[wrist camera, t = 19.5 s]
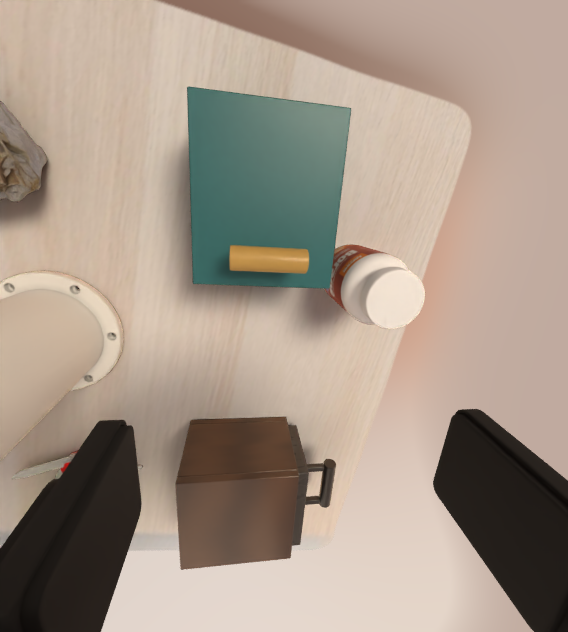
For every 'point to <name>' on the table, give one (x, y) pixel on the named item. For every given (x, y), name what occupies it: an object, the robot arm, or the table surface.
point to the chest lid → (264, 188)
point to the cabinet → (236, 492)
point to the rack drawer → (303, 472)
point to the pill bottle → (375, 287)
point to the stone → (18, 159)
